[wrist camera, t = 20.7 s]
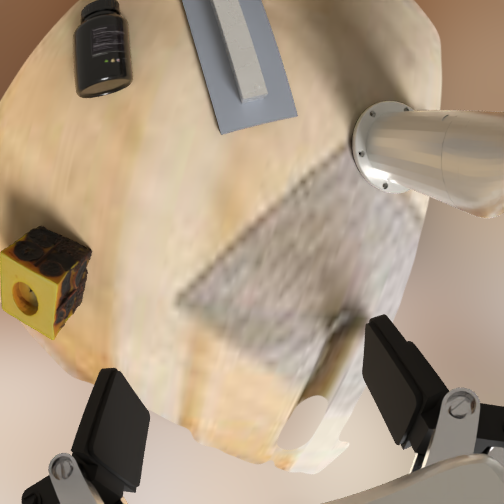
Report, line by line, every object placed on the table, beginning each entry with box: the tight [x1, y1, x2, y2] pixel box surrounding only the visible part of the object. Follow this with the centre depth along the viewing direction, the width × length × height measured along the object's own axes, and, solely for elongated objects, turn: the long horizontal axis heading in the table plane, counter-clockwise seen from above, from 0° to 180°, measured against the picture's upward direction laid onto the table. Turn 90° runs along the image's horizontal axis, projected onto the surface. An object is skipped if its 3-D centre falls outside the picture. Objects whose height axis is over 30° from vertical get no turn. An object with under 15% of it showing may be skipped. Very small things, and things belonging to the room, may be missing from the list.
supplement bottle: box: [73, 0, 133, 98], centre depth 22 cm, size 7×7×12 cm
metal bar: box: [210, 0, 268, 104], centre depth 23 cm, size 2×22×4 cm, turn 15°
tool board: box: [182, 0, 298, 135], centre depth 25 cm, size 9×28×1 cm, turn 15°
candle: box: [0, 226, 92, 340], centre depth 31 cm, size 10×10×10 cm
